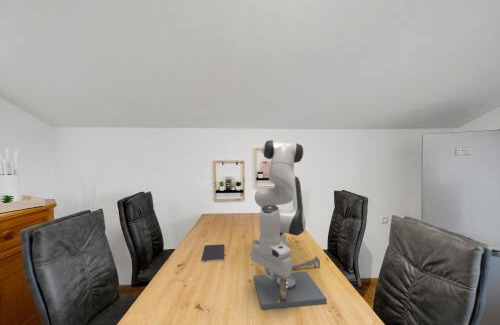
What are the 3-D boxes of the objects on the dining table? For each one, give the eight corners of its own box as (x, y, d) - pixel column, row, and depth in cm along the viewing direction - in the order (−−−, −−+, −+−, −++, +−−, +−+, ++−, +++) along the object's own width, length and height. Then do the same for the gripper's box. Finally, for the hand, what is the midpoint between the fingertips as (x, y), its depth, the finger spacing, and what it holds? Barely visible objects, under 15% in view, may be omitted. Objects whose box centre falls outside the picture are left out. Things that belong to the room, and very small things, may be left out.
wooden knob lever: (278, 277, 101) (278, 262, 100) (295, 280, 98) (295, 264, 98) (272, 298, 86) (272, 280, 86) (293, 301, 84) (293, 283, 84)
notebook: (224, 261, 123) (224, 246, 144) (224, 258, 123) (224, 244, 144) (201, 262, 122) (204, 247, 143) (201, 260, 122) (204, 245, 143)
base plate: (253, 279, 103) (253, 274, 103) (306, 275, 107) (306, 271, 107) (261, 310, 82) (261, 304, 82) (326, 303, 86) (326, 298, 86)
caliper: (319, 267, 115) (318, 255, 115) (320, 268, 114) (319, 256, 114) (282, 271, 112) (281, 258, 112) (282, 272, 111) (282, 259, 111)
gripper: (247, 240, 96) (247, 271, 96) (283, 256, 80) (283, 293, 81) (258, 236, 100) (258, 266, 100) (294, 251, 85) (294, 286, 85)
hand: (269, 278), depth 91 cm, fingers closed
